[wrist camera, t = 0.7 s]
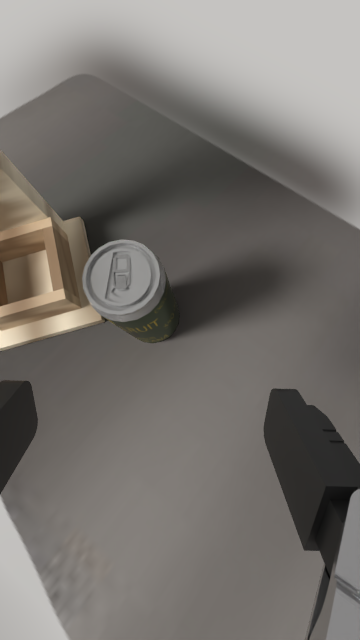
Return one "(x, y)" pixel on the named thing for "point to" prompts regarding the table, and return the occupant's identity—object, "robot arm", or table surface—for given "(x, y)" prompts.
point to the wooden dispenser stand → (39, 266)
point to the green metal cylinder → (131, 290)
